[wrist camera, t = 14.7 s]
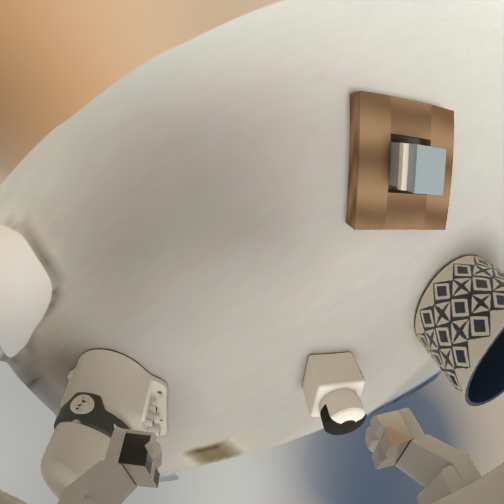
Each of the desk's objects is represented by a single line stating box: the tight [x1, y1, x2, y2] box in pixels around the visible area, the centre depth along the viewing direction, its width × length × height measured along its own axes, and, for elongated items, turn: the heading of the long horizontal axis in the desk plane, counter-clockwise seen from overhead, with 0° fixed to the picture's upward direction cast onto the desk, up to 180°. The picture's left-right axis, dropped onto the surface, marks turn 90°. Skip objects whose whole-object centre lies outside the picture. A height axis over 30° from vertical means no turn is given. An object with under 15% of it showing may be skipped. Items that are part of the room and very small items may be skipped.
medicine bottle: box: [303, 352, 366, 435], centre depth 40 cm, size 7×7×12 cm
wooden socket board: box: [346, 91, 454, 230], centre depth 33 cm, size 16×14×3 cm
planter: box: [415, 256, 504, 406], centre depth 35 cm, size 18×18×16 cm
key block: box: [389, 142, 446, 195], centre depth 30 cm, size 5×5×8 cm
